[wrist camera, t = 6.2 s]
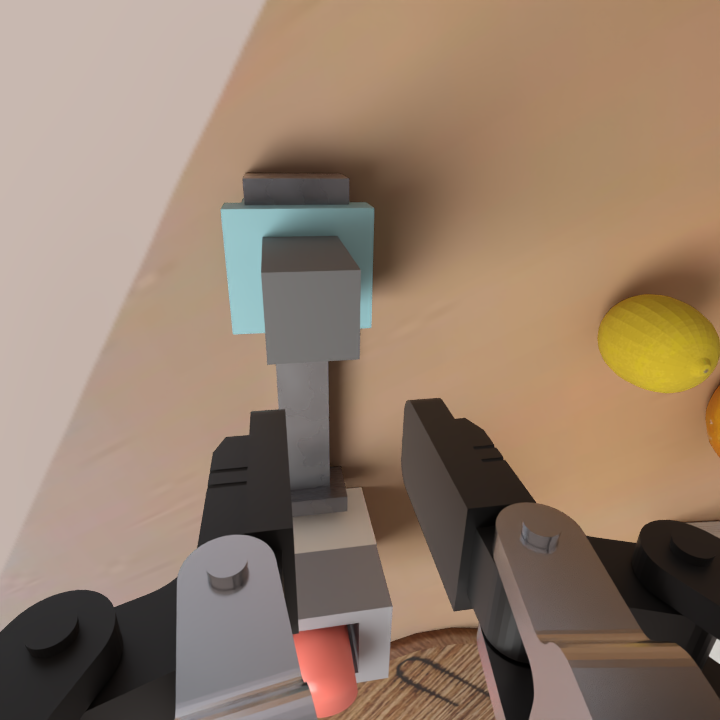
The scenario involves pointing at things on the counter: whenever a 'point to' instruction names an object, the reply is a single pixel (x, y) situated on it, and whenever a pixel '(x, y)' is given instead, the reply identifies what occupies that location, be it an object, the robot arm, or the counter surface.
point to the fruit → (714, 421)
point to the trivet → (427, 681)
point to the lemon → (658, 343)
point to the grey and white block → (345, 583)
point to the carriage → (300, 277)
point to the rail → (309, 379)
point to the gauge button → (327, 668)
